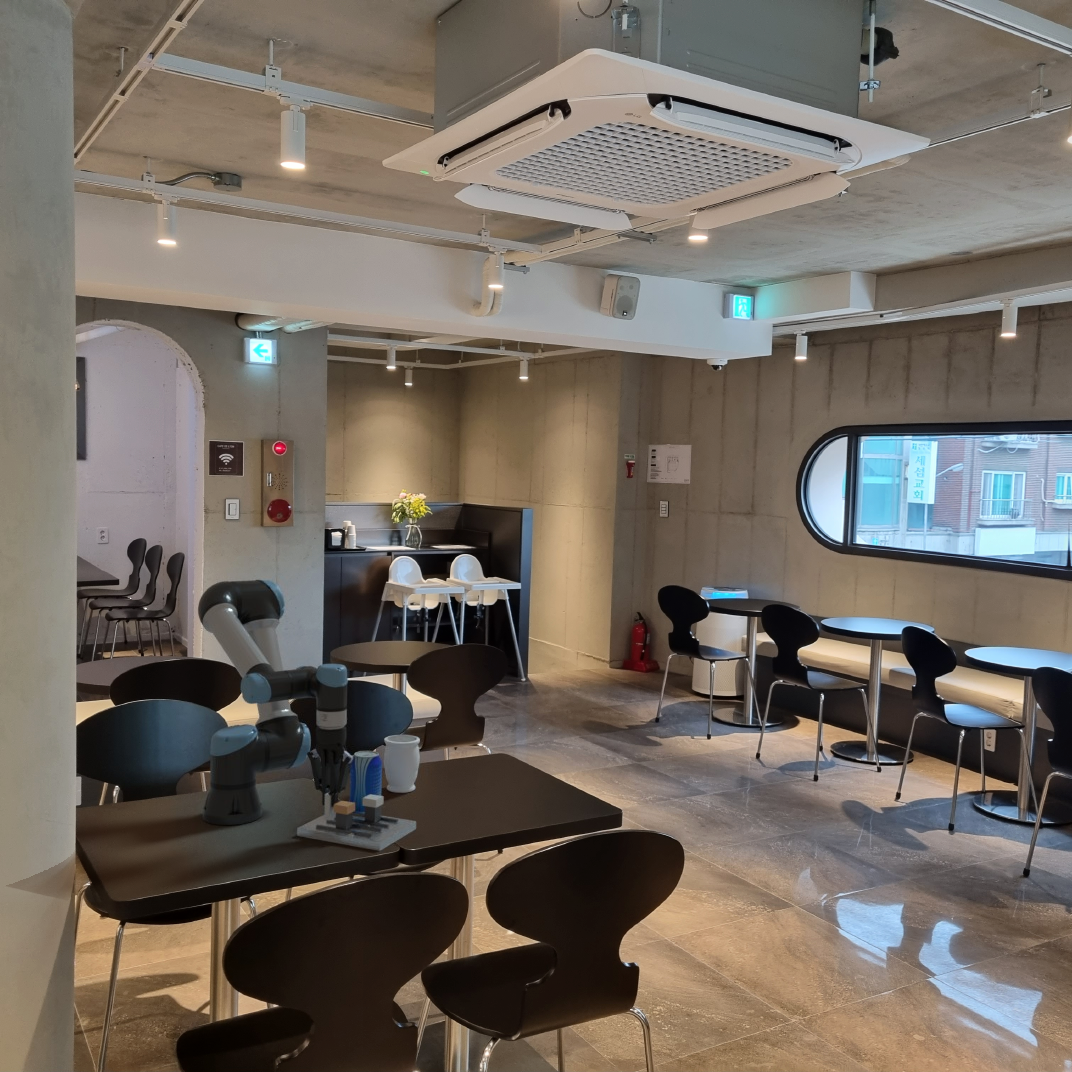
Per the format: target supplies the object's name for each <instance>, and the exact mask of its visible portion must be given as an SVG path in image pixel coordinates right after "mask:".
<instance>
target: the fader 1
mask: <svg viewBox="0 0 1072 1072" xmlns="http://www.w3.org/2000/svg"><path fill="white" fill-rule="evenodd" d="M353 811H355V803H353V802H350V801H345V800H340V801H338V803H336V804H334V813H336V828H341V829H348V828H350V827H352V824H353Z"/></svg>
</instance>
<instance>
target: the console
mask: <svg viewBox="0 0 1072 1072" xmlns="http://www.w3.org/2000/svg"><path fill="white" fill-rule="evenodd" d="M324 815H325V814H323V815H321V816H318V817H317V818H314V819H312V820H311V821H308V822H307V823H305V824H303V825H301V826H298V827H297V830H296V836H298V837H303V838H307V839H313V840H318V841H322V842H327V843H335V844H338V845H339V844H340V845H345V846H352V847H357V848H361V849H366V850H367V849H368V850H373V851H379V852H380V851H382V850H384V849H385V848H387V847H388V846H389V847H390V846H391V845H392V844H393V843H395V842H397V841H398V840H400V839H402V838H404V837H405V836H406V835H409V834H410V833H412V832H414V831H415V830H416V829H417V821H416V820H411V819H406V818H405V819H404V818H399V817H393V816H386V815H381V819H380V820H379V821H377V822H371V821H365V813H363V812H357V811H353V824H352V827H350V828H348V829H341V828H336V813H335V818H334V819H331V820H324Z"/></svg>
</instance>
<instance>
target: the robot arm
mask: <svg viewBox="0 0 1072 1072" xmlns="http://www.w3.org/2000/svg"><path fill="white" fill-rule="evenodd" d="M197 606H198V607H197V614H198V618H199V621H200V623H201V625H202V626H203V628H204V629H205V631H207V632H208V633H211V634H213V636H214V638H215V639H216V640H217V642H218V644H219V645H220V646H221V648H222V650H223V651H224V652H225V654H226V656H227V657H228V659H229V660H230V662H231V663H232V664H233V666H234V668H235V669H236V670H237V673H239V675H240V677H241V678H242V679H241V681H240V692H241V694H242V696H241V697H242V699H243V701H244V702H245V703H247V704H250V705H254V704H255V705H256V706H257V710H258V713H257V714H258V717H259V718H258V719H257V721H256V722H255V724H254V725H253V724H248V723H245V724H235V725H231V726H225V727H224V728H221V729H219V730H217V731H216V732H215V733H214V734H212V737H211V739H210V748H209V753H210V754H209V756H210V757H209V758H210V761H209V763H210V764H209V765H210V766H209V767H210V768H209V771H210V772H209V773H210V774H209V777H210V779H209V780H210V782H209V784H210V785H209V790H208V793H207V797H206V800H205V803H204V806H203V808H202V820H203V821H204V822H206V823H208V824H212V825H219V826H234V825H241V824H247V823H250V822H254V821H256V820H258V819H260V818H261V817H263V816H262V815H263V805H262V802H261V800H260V796H259V795H260V794H259V792H258V789H257V774H262V773H269V772H274V771H280V770H289V769H291V768H294V767H295V768H296V767H299V766H302V765H303V764H305V762H306V761H307V759H309V761H310V767H311V771H312V772H311V773H312V776H313V782H314V788H315V790H316V791H320V792H321V793H322V797H321V799H322V801H321V803H322V806H324V814H323V815H324V820H331V819H334V818H335V813H334V804H336V803H338V802H339V794H341V793H342V792H345V790H346V789H347V785H348V779H349V777H350V767H351V763H352V762H353V760H354V759H355V756H354V754H351V753H349V752H348V751H347V750H348V749H347V746H346V742H347V726H346V725H347V723H348V722H347V720H348V717H347V715H348V713H347V711H348V709H347V705H348V683H349V680H348V669H347V667H346V665H344V664H340V663H324V664H323V663H322V664H320V665H318V666H317V667H315V666H311V665H300V666H298V667H297V668H295V669H287V670H284V668H283V667H284V666H283V662H282V657H281V652H280V651H281V650H280V645H279V640H278V636H277V630H276V629H277V628H278V626H279V624H280V623H281V622H280V619H282V617H283V616H284V614H285V608H284V607H285V599H284V594H283V593H282V590H281V588H280V586H278V584H276V583H275V582H274V581H273V580H266V579H263V580H262V579H255V580H235V581H234V580H231V581H228V580H226V581H225V580H223V581H219V582H216V583H214V584H212V585H211V586H209V587H208V588H207V589H206V590H205V591H204V592H203V593H202V595H201V597H200V599H199V602H198V605H197ZM306 698H312V699H315V700H316V715H315V716H316V717H315V718H316V720H315V721H316V722H315V724H316V726H317V727H316V728H315V741H316V745H315V748H314V749H313V750H311V743H312V742H311V741H312V739H311V738H312V737H311V732H310V729H309V727H308V726H307V724H306V723H302V722H300V721H299V717H298V714H296V713H295V712H293V711H292V709H291V704H290V700H298V699H306Z"/></svg>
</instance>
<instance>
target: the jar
mask: <svg viewBox="0 0 1072 1072" xmlns="http://www.w3.org/2000/svg"><path fill="white" fill-rule="evenodd" d="M420 741H421V740H420V737H418V736H415V735H411V734H395V735H389V736H386V737H385V738H384V743H385V748H384V754H383V766H384V771H385V778H386V781H387V783H388V784H387V786H386V790H387V791H389V792H391V793H396V794H405V793H409V792H413V791H415V789H416V785H415V784H414V783H416V780H417V777H418V772H419V767H420V760H421V758H420V748H419V744H420Z"/></svg>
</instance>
